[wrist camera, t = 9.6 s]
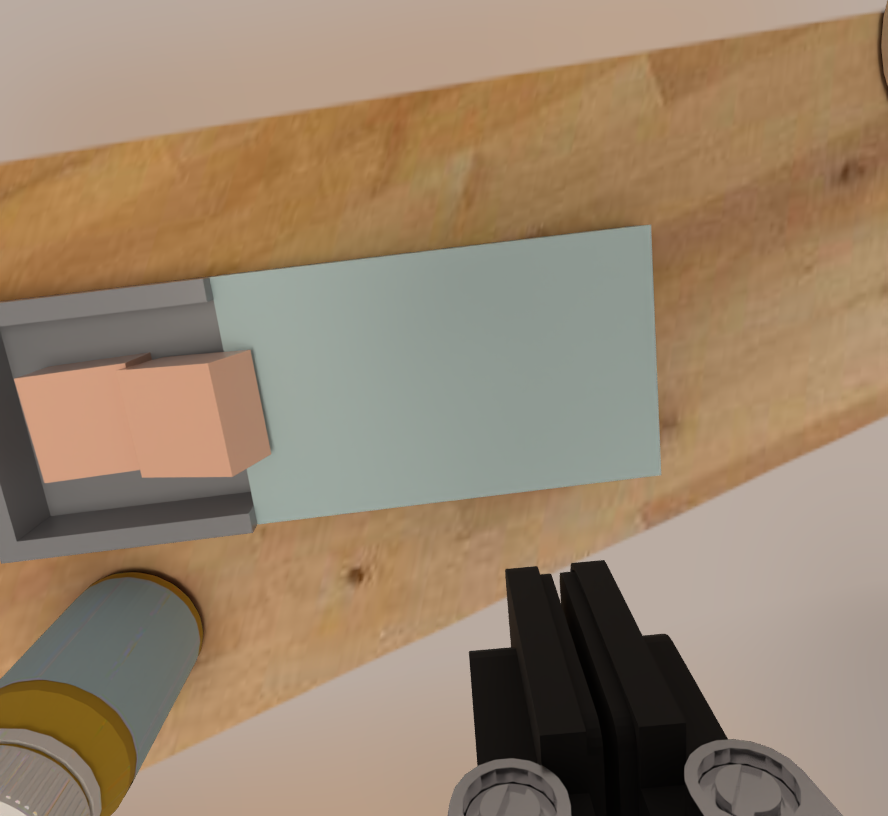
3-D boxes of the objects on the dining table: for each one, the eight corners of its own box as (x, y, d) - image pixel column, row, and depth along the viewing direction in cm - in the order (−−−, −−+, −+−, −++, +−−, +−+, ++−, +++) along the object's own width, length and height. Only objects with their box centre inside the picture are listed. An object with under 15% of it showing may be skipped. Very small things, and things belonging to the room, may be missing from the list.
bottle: (92, 687, 38) (-106, 961, 24) (63, 574, 37) (-170, 793, 22) (217, 673, 39) (95, 937, 24) (193, 559, 37) (47, 769, 22)
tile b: (150, 352, 34) (125, 363, 31) (173, 449, 35) (151, 468, 32) (48, 366, 34) (13, 378, 31) (75, 462, 35) (44, 483, 32)
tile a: (250, 349, 31) (208, 363, 29) (271, 454, 32) (232, 476, 30) (163, 357, 33) (115, 370, 30) (186, 455, 34) (141, 477, 31)
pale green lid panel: (633, 225, 34) (650, 224, 31) (644, 459, 36) (661, 475, 34) (224, 274, 33) (209, 277, 31) (268, 505, 36) (257, 524, 34)
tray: (224, 274, 33) (202, 278, 30) (268, 505, 36) (252, 532, 33) (-24, 304, 33) (-74, 311, 30) (40, 532, 36) (1, 563, 33)
